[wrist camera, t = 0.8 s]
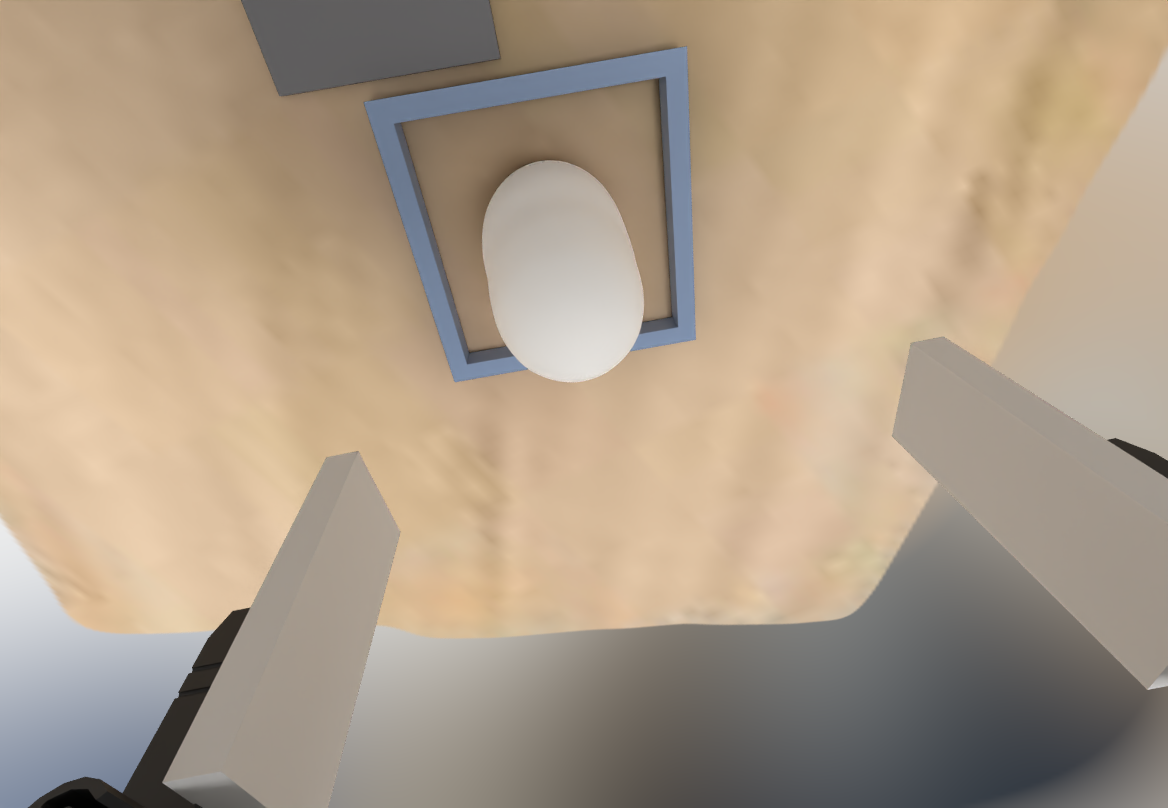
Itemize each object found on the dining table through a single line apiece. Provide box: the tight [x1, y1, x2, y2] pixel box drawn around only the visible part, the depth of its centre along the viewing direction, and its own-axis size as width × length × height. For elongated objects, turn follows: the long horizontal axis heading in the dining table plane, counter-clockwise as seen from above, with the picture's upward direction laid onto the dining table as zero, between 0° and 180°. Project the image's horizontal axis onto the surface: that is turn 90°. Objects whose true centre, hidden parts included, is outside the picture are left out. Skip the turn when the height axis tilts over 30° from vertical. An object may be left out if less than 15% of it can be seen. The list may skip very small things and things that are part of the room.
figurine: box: [482, 160, 644, 382], centre depth 23 cm, size 7×8×12 cm
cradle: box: [364, 46, 696, 382], centre depth 28 cm, size 14×14×2 cm
